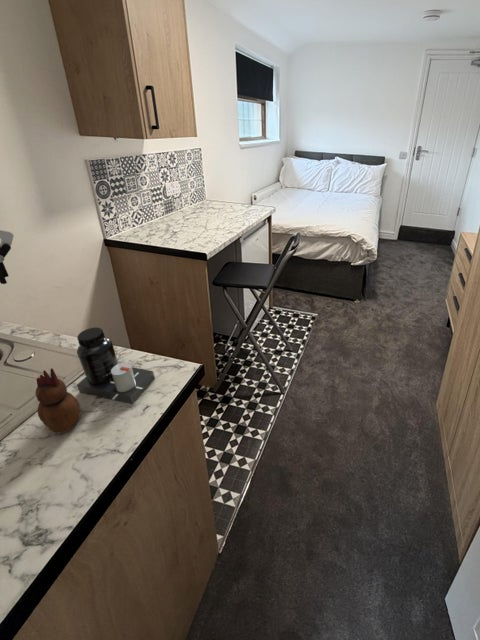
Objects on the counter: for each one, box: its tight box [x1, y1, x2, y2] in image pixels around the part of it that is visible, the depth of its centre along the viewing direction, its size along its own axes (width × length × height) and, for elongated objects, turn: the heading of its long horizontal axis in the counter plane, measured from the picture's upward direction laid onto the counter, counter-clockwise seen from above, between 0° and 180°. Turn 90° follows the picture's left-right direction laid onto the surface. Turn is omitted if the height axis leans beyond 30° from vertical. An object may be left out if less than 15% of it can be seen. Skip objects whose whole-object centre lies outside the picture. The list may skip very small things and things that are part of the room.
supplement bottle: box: [76, 326, 120, 385], centre depth 73 cm, size 7×7×12 cm
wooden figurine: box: [35, 368, 81, 434], centre depth 63 cm, size 7×6×15 cm
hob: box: [76, 366, 156, 405], centre depth 75 cm, size 15×10×3 cm, turn 77°
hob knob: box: [111, 361, 136, 392], centre depth 72 cm, size 4×4×5 cm
